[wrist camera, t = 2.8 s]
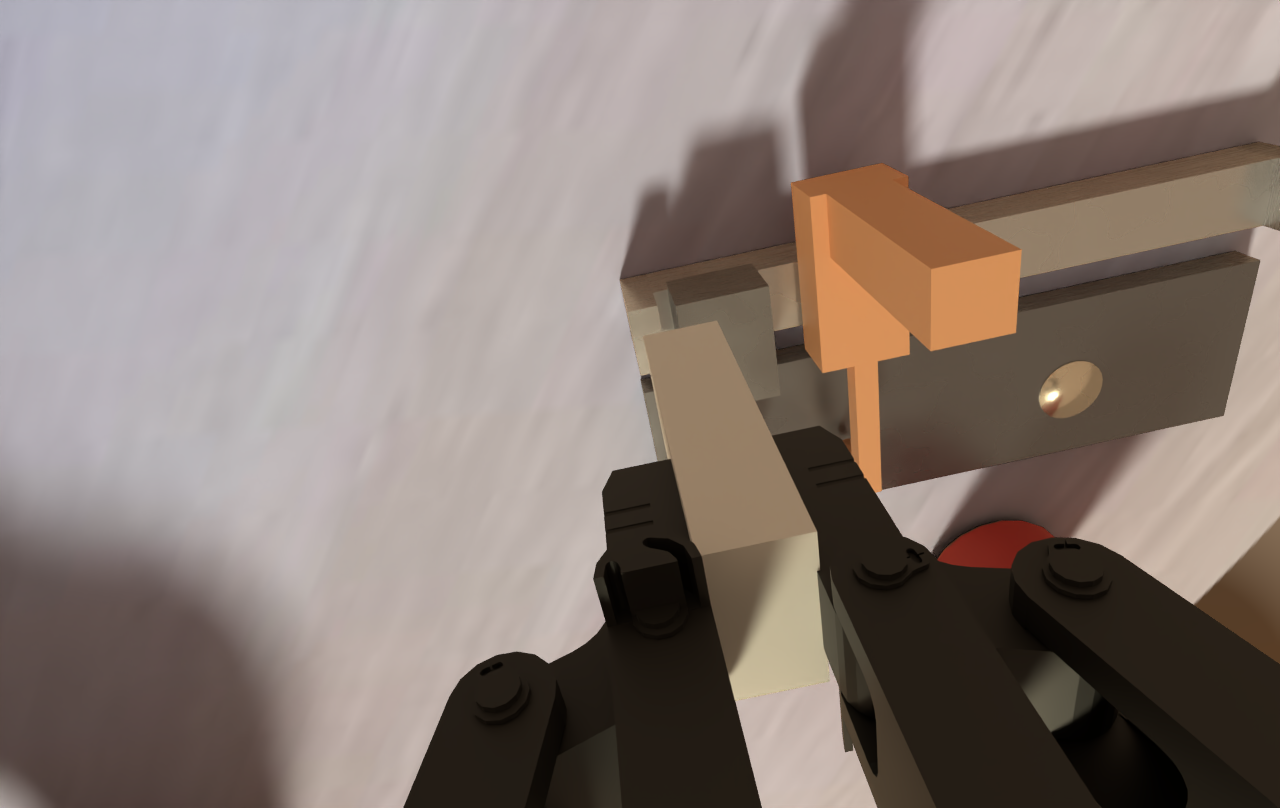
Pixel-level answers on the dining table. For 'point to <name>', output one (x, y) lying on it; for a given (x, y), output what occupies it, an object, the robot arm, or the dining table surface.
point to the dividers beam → (1033, 221)
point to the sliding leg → (892, 284)
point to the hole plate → (1039, 374)
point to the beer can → (992, 544)
